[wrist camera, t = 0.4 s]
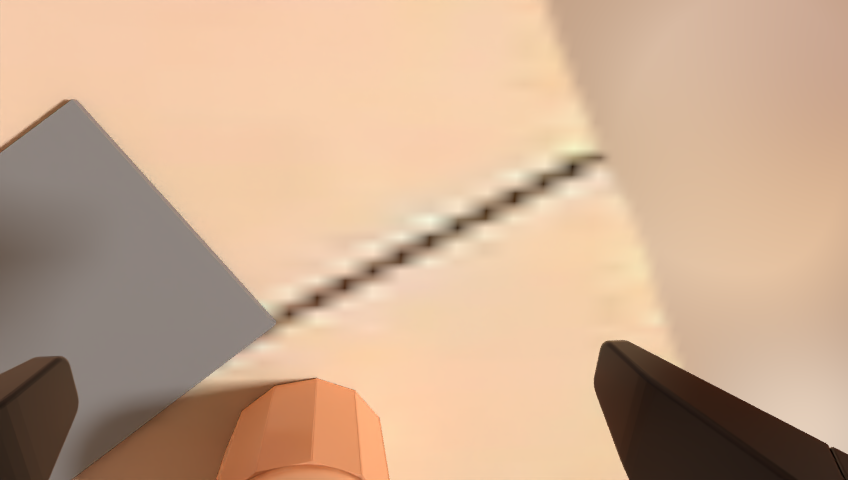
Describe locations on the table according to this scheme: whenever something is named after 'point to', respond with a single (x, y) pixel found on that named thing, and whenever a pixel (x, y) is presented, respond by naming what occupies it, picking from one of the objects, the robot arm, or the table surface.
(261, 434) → the terracotta cup
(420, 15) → the table surface
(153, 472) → the table surface
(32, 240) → the charcoal mat
